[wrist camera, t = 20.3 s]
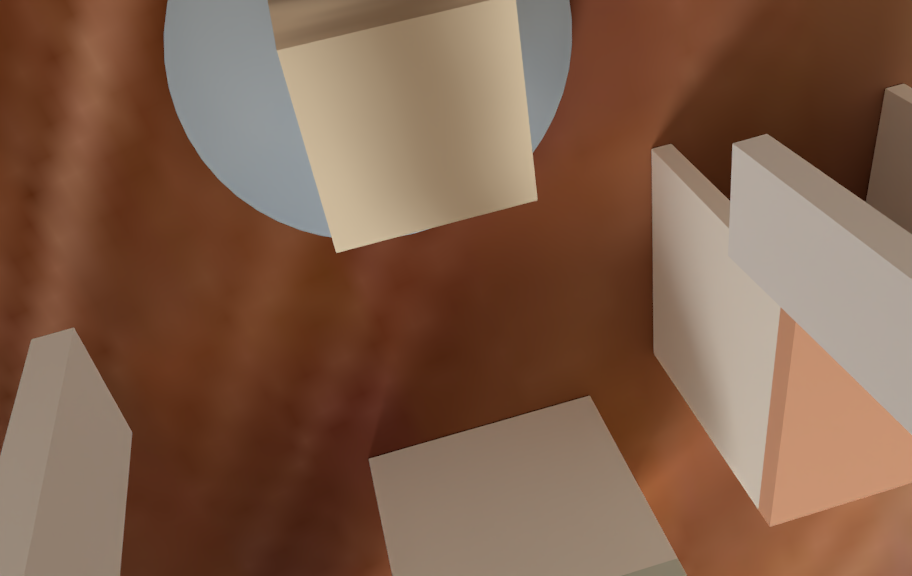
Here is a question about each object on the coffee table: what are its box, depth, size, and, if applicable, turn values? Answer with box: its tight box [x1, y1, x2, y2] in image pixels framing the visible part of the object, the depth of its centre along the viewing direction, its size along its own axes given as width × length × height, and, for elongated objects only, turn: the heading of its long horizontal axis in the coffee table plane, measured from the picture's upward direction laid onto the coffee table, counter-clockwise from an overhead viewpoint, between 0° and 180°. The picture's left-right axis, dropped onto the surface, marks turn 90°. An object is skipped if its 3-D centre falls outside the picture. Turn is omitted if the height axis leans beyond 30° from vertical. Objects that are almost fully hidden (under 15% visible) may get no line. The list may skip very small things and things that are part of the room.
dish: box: [164, 0, 572, 237], centre depth 23 cm, size 11×11×1 cm
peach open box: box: [652, 84, 912, 527], centre depth 27 cm, size 9×9×9 cm
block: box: [268, 0, 538, 253], centre depth 20 cm, size 5×5×5 cm
